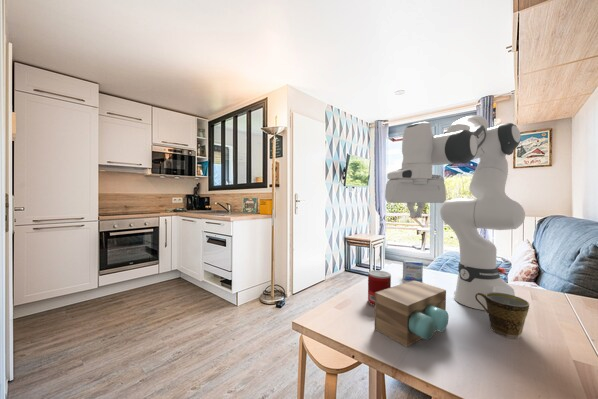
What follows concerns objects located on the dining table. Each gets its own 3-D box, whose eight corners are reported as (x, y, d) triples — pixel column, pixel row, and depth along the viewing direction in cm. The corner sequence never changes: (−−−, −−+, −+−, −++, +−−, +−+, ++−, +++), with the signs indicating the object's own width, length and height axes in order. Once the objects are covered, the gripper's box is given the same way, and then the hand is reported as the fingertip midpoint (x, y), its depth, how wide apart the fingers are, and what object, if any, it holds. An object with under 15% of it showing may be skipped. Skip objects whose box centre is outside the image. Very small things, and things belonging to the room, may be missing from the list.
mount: (413, 311, 86) (413, 280, 86) (460, 331, 74) (461, 294, 74) (374, 328, 75) (375, 292, 75) (422, 355, 63) (423, 312, 63)
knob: (403, 309, 81) (403, 291, 81) (448, 328, 70) (448, 308, 70) (392, 313, 78) (393, 295, 78) (437, 334, 67) (438, 313, 67)
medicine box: (404, 280, 118) (405, 262, 118) (402, 277, 123) (402, 259, 123) (422, 281, 117) (423, 262, 117) (419, 278, 122) (420, 260, 121)
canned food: (391, 308, 89) (392, 277, 89) (368, 306, 91) (369, 275, 90) (388, 299, 96) (389, 271, 96) (367, 297, 98) (367, 269, 98)
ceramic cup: (533, 335, 72) (534, 301, 72) (521, 346, 67) (522, 309, 67) (481, 316, 83) (482, 286, 83) (467, 325, 78) (468, 293, 78)
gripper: (436, 175, 85) (435, 216, 86) (382, 173, 81) (382, 216, 81) (451, 174, 79) (450, 217, 80) (394, 172, 74) (393, 218, 75)
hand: (415, 217), depth 80 cm, fingers closed
